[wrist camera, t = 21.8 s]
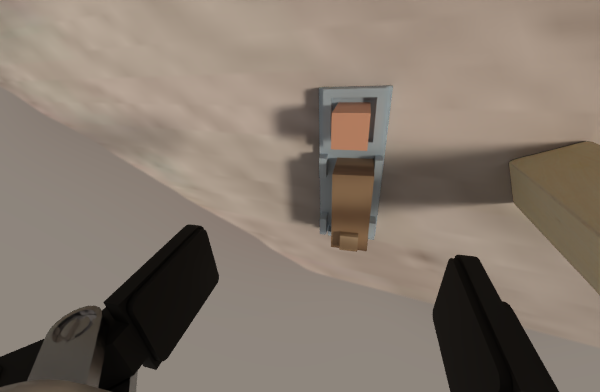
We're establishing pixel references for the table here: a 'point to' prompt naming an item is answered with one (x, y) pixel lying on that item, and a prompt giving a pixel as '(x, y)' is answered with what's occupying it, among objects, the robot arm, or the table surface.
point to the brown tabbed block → (351, 203)
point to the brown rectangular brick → (350, 126)
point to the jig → (375, 150)
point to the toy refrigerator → (564, 202)
